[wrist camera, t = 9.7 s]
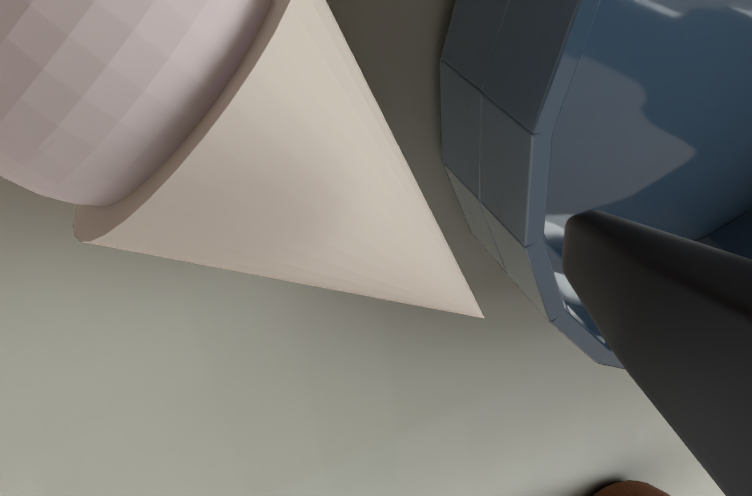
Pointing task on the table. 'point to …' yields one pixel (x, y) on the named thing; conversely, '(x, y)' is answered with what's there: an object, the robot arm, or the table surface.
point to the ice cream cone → (219, 143)
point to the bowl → (596, 130)
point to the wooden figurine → (630, 489)
